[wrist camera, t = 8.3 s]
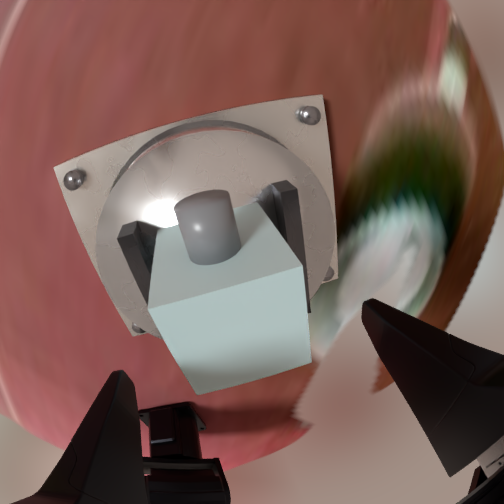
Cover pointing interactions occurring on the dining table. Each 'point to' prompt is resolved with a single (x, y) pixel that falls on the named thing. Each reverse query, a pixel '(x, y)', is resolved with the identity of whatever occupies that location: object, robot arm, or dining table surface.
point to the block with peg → (228, 294)
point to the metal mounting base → (202, 179)
